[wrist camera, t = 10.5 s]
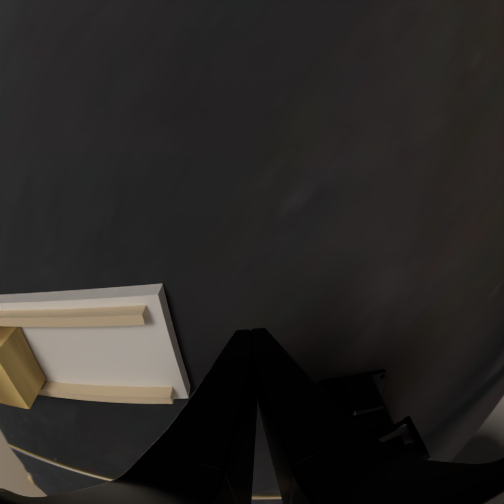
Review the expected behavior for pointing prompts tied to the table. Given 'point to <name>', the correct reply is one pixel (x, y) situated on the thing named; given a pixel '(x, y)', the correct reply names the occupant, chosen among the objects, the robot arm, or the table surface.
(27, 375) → the block
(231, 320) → the table surface
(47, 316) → the track
